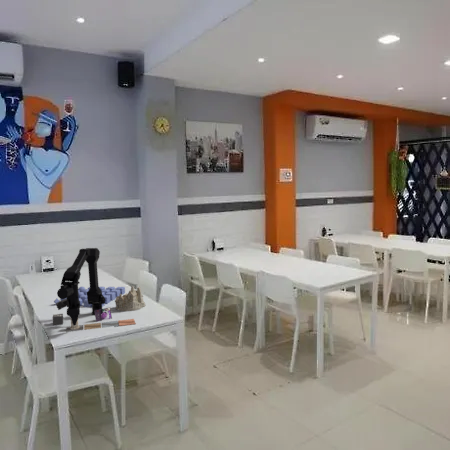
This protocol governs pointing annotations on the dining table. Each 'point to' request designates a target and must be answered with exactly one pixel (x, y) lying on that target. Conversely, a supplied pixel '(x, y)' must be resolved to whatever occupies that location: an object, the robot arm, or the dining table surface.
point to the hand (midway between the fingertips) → (74, 322)
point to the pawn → (74, 327)
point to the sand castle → (130, 300)
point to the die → (57, 319)
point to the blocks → (108, 294)
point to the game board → (103, 325)
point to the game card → (103, 315)
